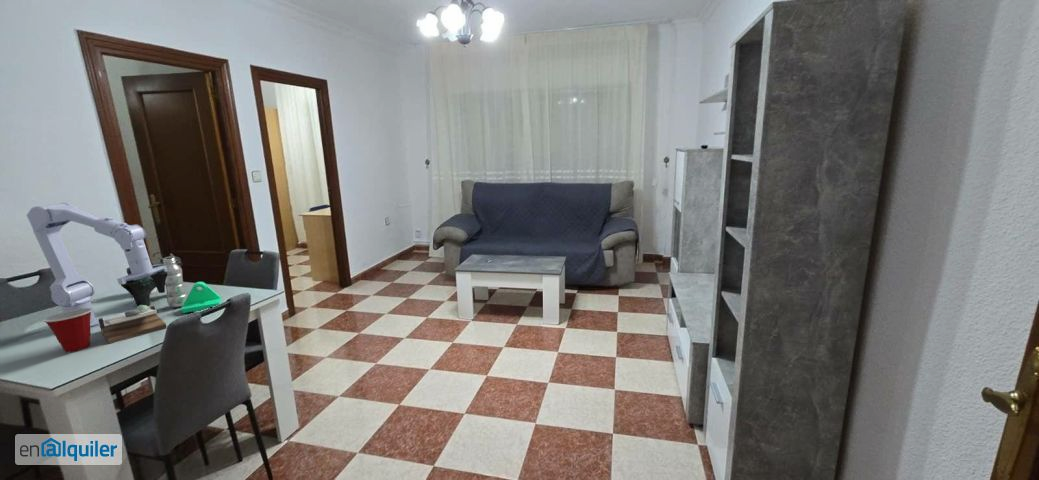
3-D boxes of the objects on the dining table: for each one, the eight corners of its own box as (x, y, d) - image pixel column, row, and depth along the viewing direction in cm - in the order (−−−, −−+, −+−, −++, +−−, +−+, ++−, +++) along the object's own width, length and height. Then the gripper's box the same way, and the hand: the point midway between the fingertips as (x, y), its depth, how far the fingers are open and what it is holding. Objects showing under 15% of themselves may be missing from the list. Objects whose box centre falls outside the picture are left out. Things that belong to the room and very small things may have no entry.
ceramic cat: (180, 291, 187) (170, 247, 182) (192, 291, 185) (183, 248, 181) (131, 308, 168) (120, 260, 163) (144, 309, 166) (133, 260, 162)
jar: (134, 292, 186) (127, 266, 183) (158, 288, 190) (152, 263, 188) (131, 298, 179) (124, 271, 176) (155, 293, 183) (149, 267, 181)
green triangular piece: (182, 315, 160) (176, 290, 157) (185, 309, 166) (180, 284, 164) (220, 309, 166) (215, 284, 163) (222, 303, 172) (217, 279, 170)
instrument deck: (105, 322, 147) (102, 312, 147) (149, 311, 156) (147, 302, 156) (110, 324, 137) (107, 314, 137) (157, 313, 146) (154, 303, 146)
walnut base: (101, 331, 147) (97, 318, 146) (156, 317, 158) (153, 305, 157) (108, 343, 137) (105, 330, 136) (166, 328, 149) (164, 315, 147)
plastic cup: (94, 337, 142) (85, 304, 139) (106, 344, 137) (97, 310, 134) (48, 351, 133) (37, 315, 130) (58, 359, 128) (48, 322, 125)
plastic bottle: (192, 305, 170) (182, 257, 165) (172, 310, 164) (161, 261, 160) (185, 302, 173) (176, 255, 169) (165, 307, 168) (155, 259, 163)
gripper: (123, 266, 138) (136, 304, 142) (168, 253, 152) (179, 289, 155) (108, 266, 140) (121, 304, 144) (154, 254, 154) (165, 289, 157)
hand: (150, 296), depth 149 cm, fingers open, 7 cm apart
